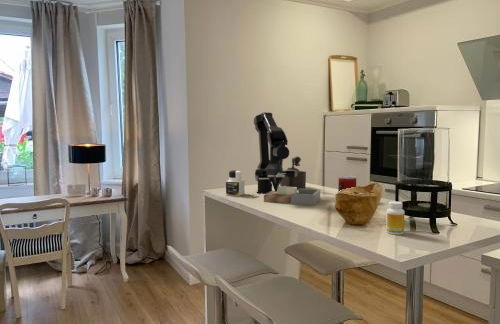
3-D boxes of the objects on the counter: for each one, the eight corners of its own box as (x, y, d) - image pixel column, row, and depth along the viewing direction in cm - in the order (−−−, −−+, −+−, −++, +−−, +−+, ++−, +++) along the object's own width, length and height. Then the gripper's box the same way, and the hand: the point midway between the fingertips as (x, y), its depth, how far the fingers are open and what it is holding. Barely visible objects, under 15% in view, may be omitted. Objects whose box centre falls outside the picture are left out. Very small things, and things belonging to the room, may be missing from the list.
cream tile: (286, 194, 176) (286, 188, 175) (288, 193, 179) (288, 186, 179) (294, 195, 174) (294, 188, 174) (297, 193, 178) (297, 187, 178)
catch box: (291, 204, 169) (291, 193, 169) (298, 198, 183) (298, 188, 183) (314, 205, 166) (314, 195, 166) (320, 199, 180) (320, 189, 180)
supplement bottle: (406, 235, 121) (407, 204, 120) (388, 234, 121) (388, 204, 121) (401, 230, 126) (402, 201, 125) (384, 230, 127) (385, 200, 126)
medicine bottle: (225, 195, 192) (225, 171, 191) (231, 193, 198) (231, 169, 197) (239, 196, 189) (238, 171, 188) (244, 193, 196) (244, 170, 195)
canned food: (359, 200, 178) (359, 176, 177) (350, 202, 172) (350, 178, 171) (343, 198, 183) (344, 174, 182) (335, 200, 177) (335, 176, 176)
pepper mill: (278, 187, 215) (278, 155, 213) (294, 186, 220) (294, 154, 219) (296, 191, 201) (296, 156, 200) (312, 189, 207) (312, 156, 206)
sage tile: (277, 194, 177) (277, 187, 177) (280, 192, 181) (280, 186, 180) (286, 194, 175) (286, 188, 175) (288, 193, 179) (288, 186, 179)
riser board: (263, 201, 175) (263, 195, 175) (271, 197, 186) (271, 190, 186) (292, 203, 171) (292, 196, 170) (298, 198, 182) (298, 192, 182)
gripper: (250, 158, 173) (250, 193, 175) (291, 159, 167) (291, 195, 168) (259, 156, 184) (259, 189, 185) (297, 157, 177) (297, 191, 179)
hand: (276, 191), depth 179 cm, fingers closed
